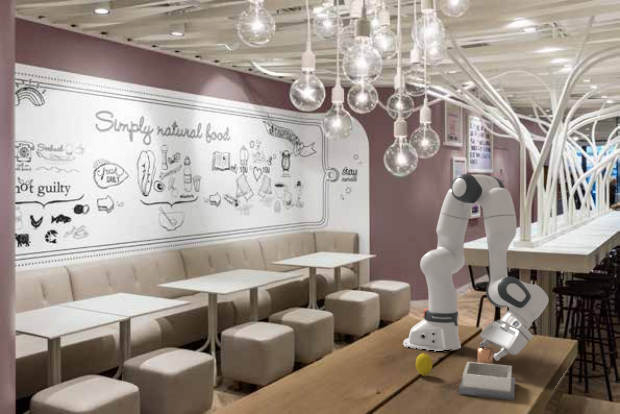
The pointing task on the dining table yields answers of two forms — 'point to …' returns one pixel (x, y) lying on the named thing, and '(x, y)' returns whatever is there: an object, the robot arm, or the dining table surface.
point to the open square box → (488, 381)
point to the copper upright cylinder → (485, 354)
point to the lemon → (424, 364)
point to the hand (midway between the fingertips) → (487, 355)
